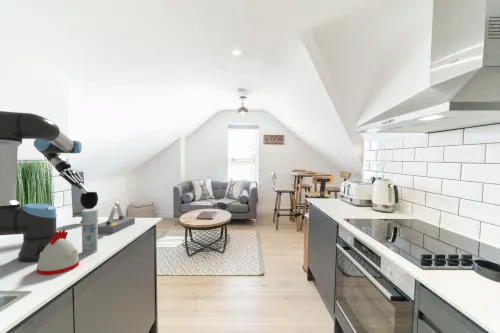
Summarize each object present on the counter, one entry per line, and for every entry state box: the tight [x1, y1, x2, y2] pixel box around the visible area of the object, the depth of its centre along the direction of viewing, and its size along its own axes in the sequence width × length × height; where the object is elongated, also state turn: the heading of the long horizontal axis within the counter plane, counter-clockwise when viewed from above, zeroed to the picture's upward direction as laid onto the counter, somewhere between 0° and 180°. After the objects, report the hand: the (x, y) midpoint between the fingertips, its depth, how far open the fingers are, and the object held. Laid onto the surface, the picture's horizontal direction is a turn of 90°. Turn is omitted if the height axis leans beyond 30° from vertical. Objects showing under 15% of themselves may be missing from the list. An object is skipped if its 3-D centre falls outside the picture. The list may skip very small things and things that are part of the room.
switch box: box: [98, 216, 136, 235], centre depth 165 cm, size 24×12×4 cm, turn 175°
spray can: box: [81, 208, 99, 255], centre depth 123 cm, size 6×6×20 cm
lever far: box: [114, 201, 125, 219], centre depth 172 cm, size 3×3×12 cm
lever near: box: [105, 206, 117, 225], centre depth 157 cm, size 3×3×12 cm
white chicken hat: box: [36, 229, 80, 276], centre depth 106 cm, size 14×14×15 cm
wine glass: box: [80, 191, 99, 224], centre depth 179 cm, size 10×10×20 cm
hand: (86, 192), depth 158 cm, fingers closed
